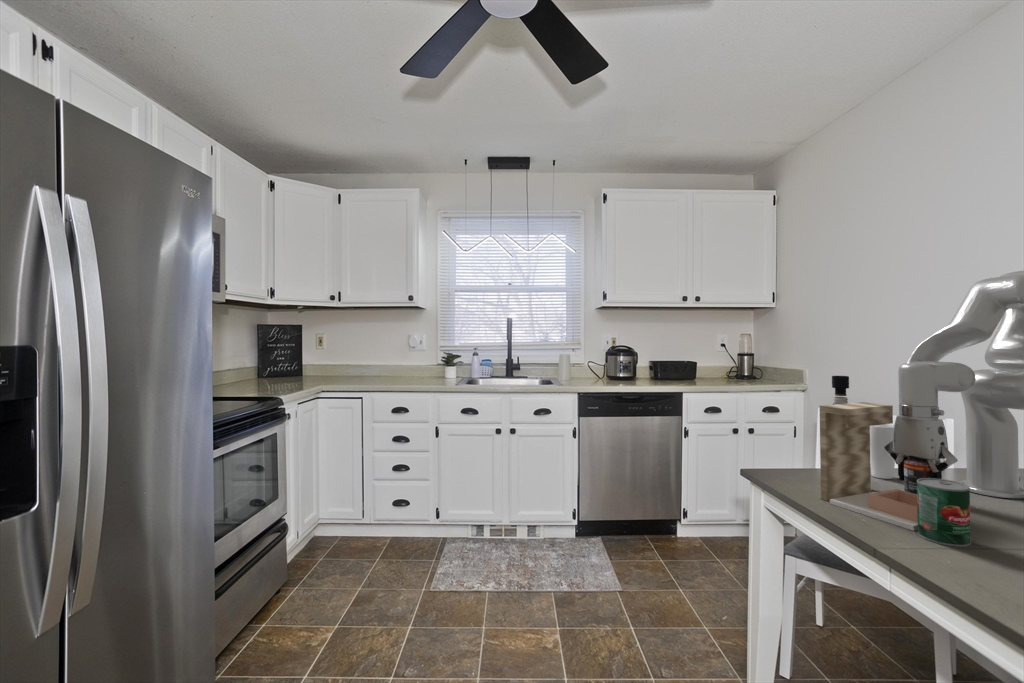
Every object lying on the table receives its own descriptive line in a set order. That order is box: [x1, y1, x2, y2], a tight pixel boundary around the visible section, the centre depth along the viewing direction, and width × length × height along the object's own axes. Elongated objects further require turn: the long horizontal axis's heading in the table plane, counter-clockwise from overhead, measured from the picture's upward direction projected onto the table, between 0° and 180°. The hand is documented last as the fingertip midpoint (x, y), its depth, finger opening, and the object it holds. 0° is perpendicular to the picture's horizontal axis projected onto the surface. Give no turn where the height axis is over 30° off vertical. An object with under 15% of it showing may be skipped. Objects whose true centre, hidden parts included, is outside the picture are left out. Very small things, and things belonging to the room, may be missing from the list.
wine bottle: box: [831, 375, 850, 405], centre depth 129 cm, size 6×6×30 cm
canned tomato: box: [917, 478, 972, 548], centre depth 94 cm, size 8×8×11 cm
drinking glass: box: [870, 424, 896, 480], centre depth 136 cm, size 7×7×15 cm
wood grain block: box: [819, 401, 894, 502], centre depth 118 cm, size 16×7×24 cm, turn 110°
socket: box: [829, 488, 918, 532], centre depth 109 cm, size 16×18×4 cm
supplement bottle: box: [903, 456, 932, 494], centre depth 119 cm, size 6×6×11 cm
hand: (919, 482), depth 119 cm, fingers closed on supplement bottle, 6 cm apart
